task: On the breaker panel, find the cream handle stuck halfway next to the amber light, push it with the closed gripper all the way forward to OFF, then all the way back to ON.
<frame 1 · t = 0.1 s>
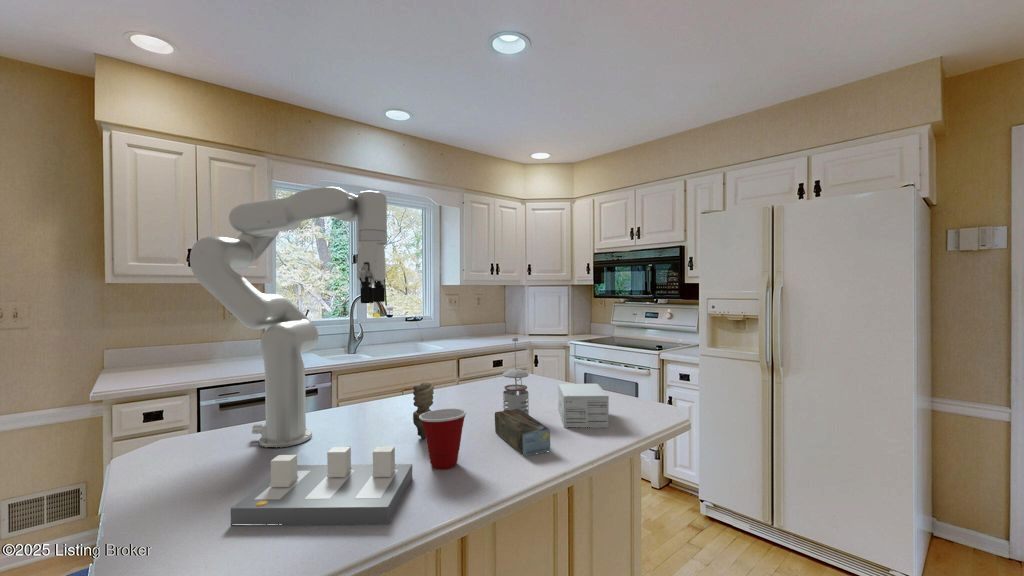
hand: (373, 302, 116), 37 cm above the counter, tool pointing down, fingers open, 9 cm apart
breaker panel: (331, 499, 83), on the counter
french press: (516, 418, 134), on the counter
plastic cup: (443, 465, 99), on the counter
breaker left: (284, 470, 83), point 6 cm above the counter, slide at 0.0 cm
light bulb: (423, 439, 116), on the counter
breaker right: (383, 460, 87), point 6 cm above the counter, slide at 4.0 cm
beverage carton: (521, 443, 113), on the counter
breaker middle: (339, 461, 87), point 6 cm above the counter, slide at 4.0 cm
supplement box: (582, 420, 132), on the counter
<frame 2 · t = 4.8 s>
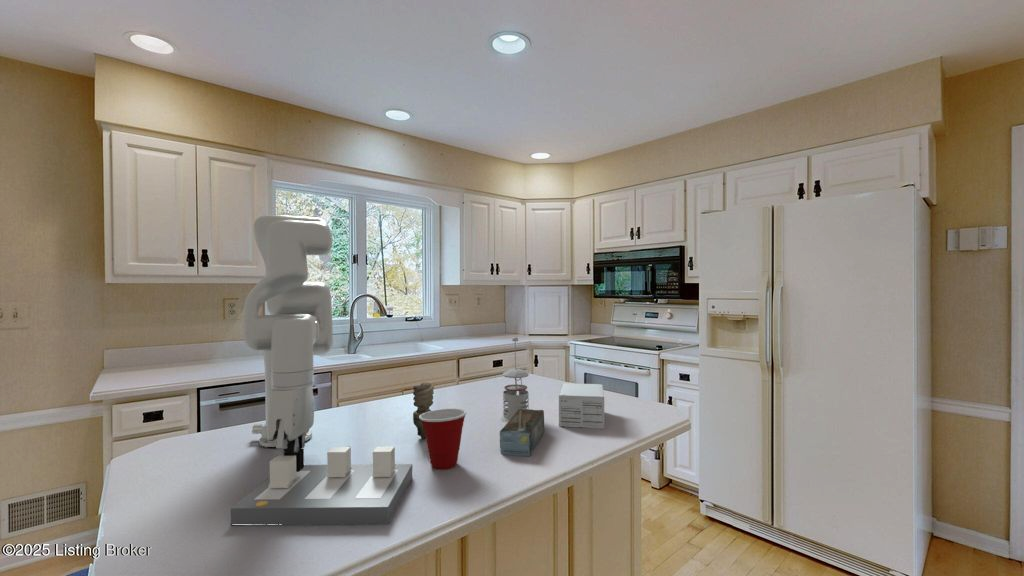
hand: (294, 470, 87), 4 cm above the counter, tool pointing down, fingers closed
breaker left: (283, 471, 83), point 6 cm above the counter, slide at -0.4 cm, touching gripper
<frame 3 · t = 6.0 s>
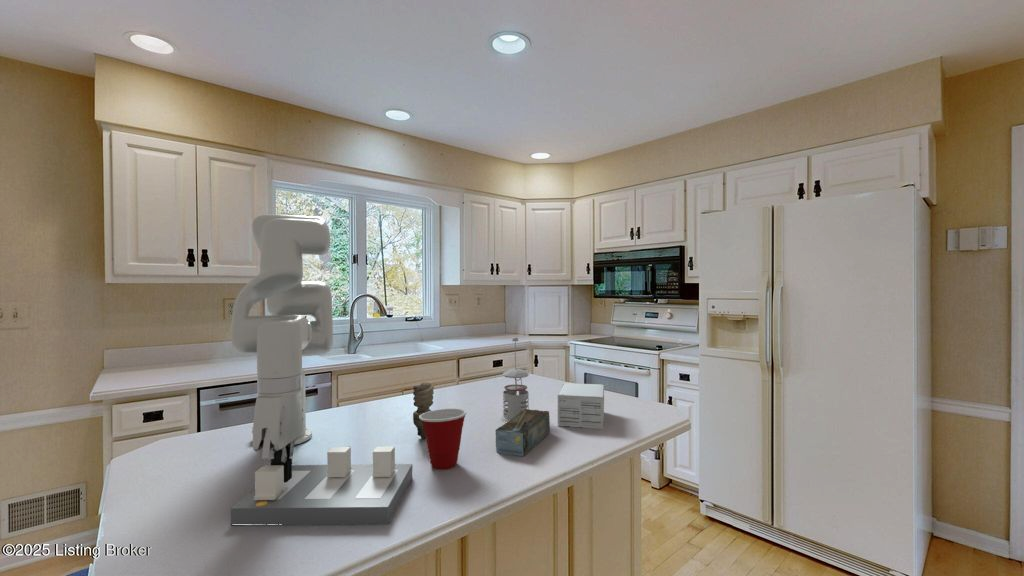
hand: (281, 480, 82), 4 cm above the counter, tool pointing down, fingers closed
breaker left: (269, 481, 78), point 6 cm above the counter, slide at -5.0 cm, touching gripper
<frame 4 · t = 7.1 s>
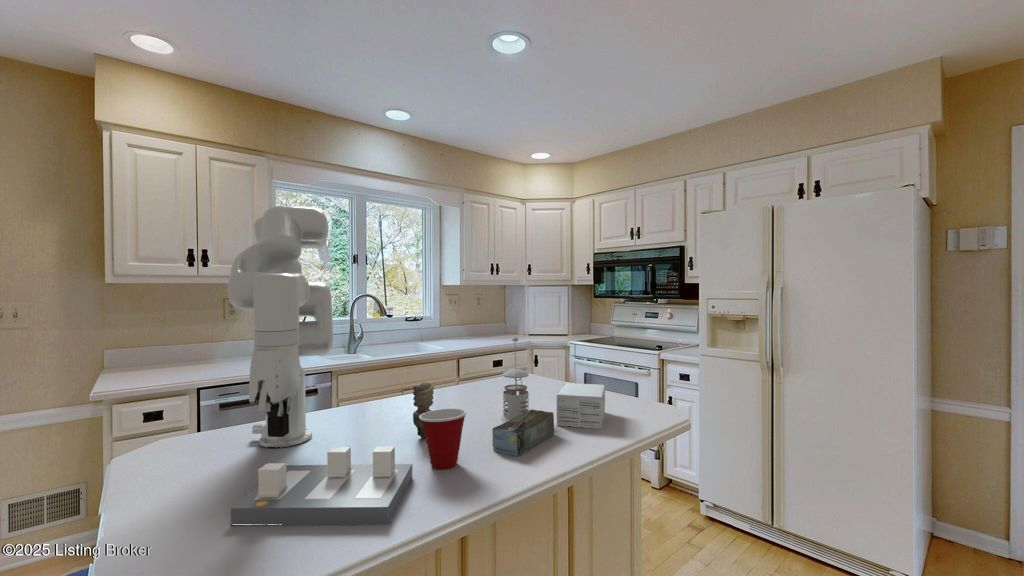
hand: (278, 435, 82), 13 cm above the counter, tool pointing down, fingers closed
breaker left: (272, 479, 79), point 6 cm above the counter, slide at -4.1 cm
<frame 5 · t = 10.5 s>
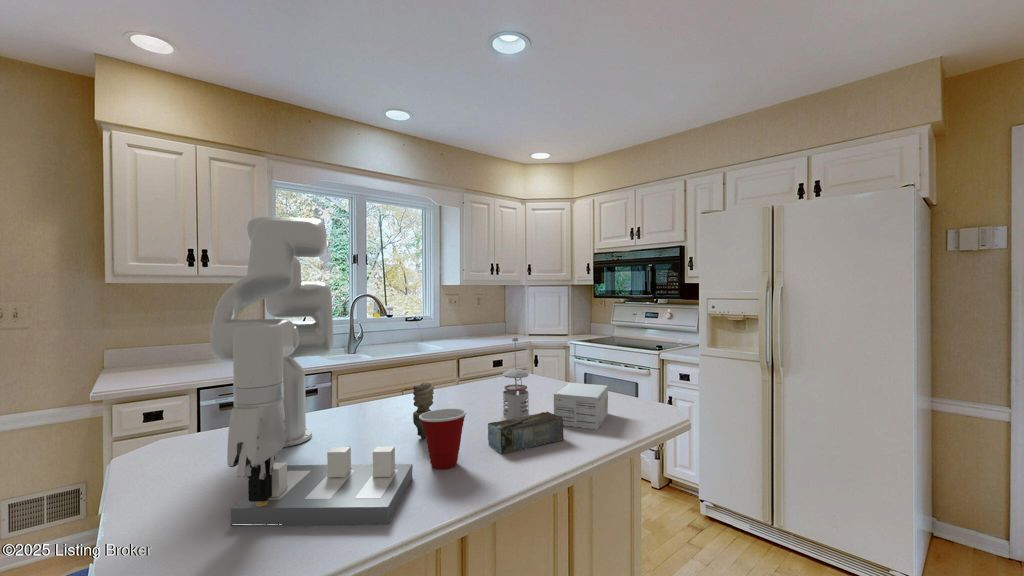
hand: (260, 499, 76), 4 cm above the counter, tool pointing down, fingers closed
breaker left: (273, 479, 80), point 6 cm above the counter, slide at -3.8 cm, touching gripper
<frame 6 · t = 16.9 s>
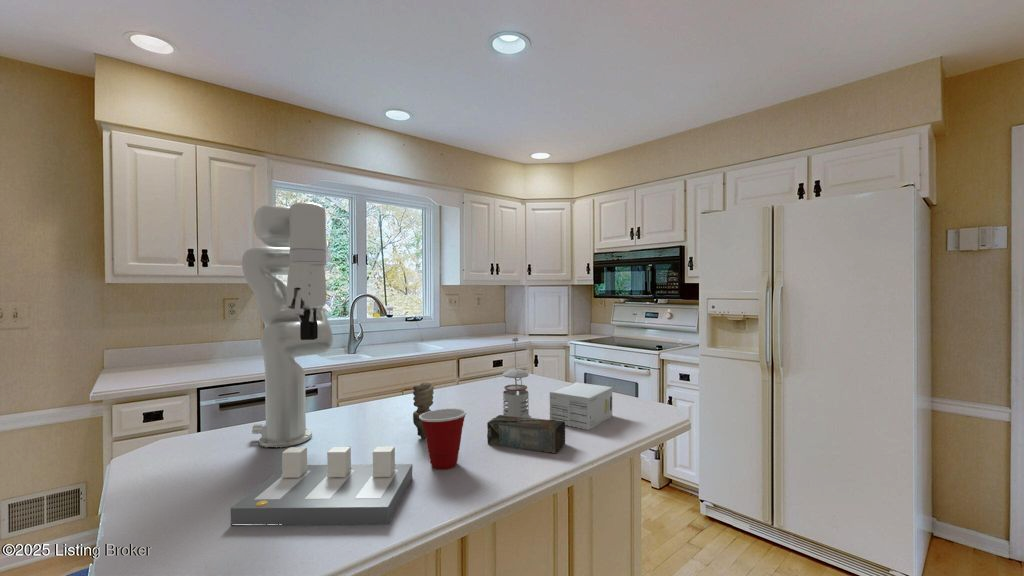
hand: (309, 339, 98), 29 cm above the counter, tool pointing down, fingers closed
breaker left: (294, 461, 87), point 6 cm above the counter, slide at 4.1 cm
at the end: breaker left slide at 4.1 cm; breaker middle slide at 4.0 cm; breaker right slide at 4.0 cm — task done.
